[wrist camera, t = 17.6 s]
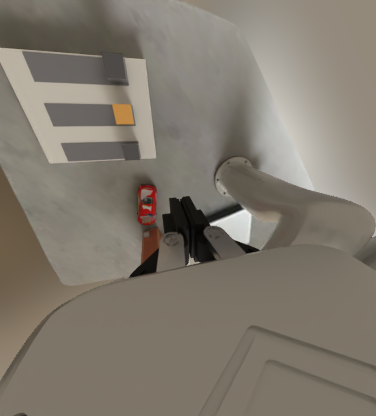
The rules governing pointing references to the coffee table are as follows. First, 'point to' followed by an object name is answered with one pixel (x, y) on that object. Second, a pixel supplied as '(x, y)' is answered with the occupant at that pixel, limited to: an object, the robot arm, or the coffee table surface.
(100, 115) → the board
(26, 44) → the coffee table surface
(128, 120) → the block
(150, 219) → the race car
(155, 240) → the control panel
